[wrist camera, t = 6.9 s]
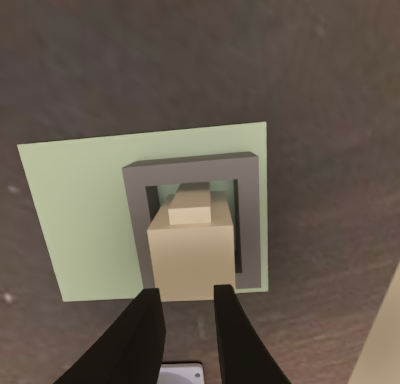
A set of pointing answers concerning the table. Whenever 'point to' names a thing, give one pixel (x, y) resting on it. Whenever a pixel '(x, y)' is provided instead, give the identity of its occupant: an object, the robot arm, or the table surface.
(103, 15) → the table surface
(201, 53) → the table surface
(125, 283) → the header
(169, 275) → the plug
